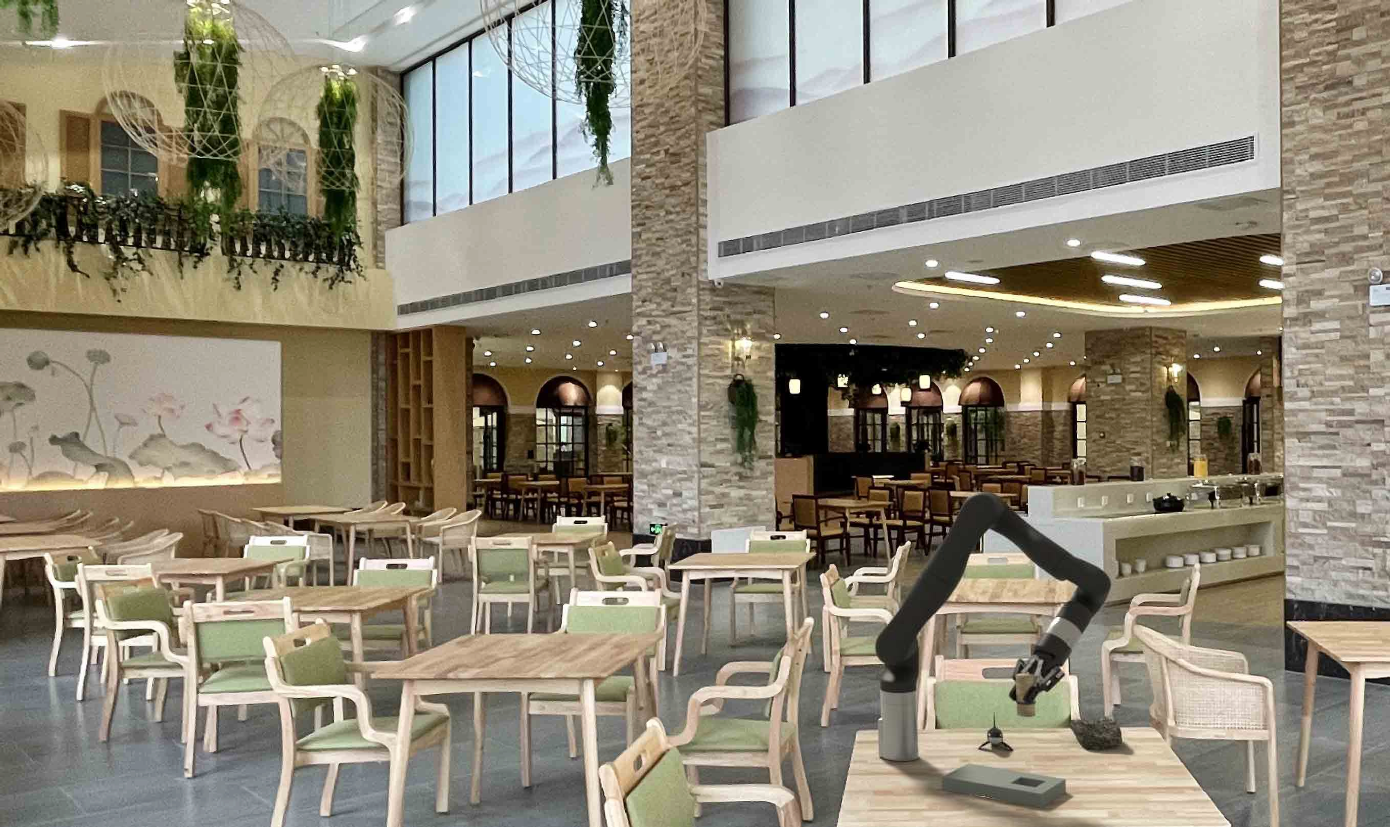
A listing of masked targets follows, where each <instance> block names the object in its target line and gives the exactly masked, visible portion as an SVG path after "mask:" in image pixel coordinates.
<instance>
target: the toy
mask: <svg viewBox="0 0 1390 827" xmlns="http://www.w3.org/2000/svg"><path fill="white" fill-rule="evenodd" d="M986 735H987V736H986V737H987V738H986V739H987V741H986V742H984V743H982V744H981V745H980V746H979V747H978V748H979V749H982V748H983V747H985V746H987V745H988V744H991V745H993V746H997V745H999V744H1002V745H1003V746H1005V747H1007V748H1009V749H1010V750H1011V751H1014V748H1012V747H1011V745H1009V744H1008V743H1006V742H1005V741H1003V740H1004V736H1003V735H1004V734H1003V731H1002V730H1001V729H999V728H998V727H997V726H996V717H995V713H993V726H992V727H991V728H989V729H988V731H987V733H986Z"/></svg>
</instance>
